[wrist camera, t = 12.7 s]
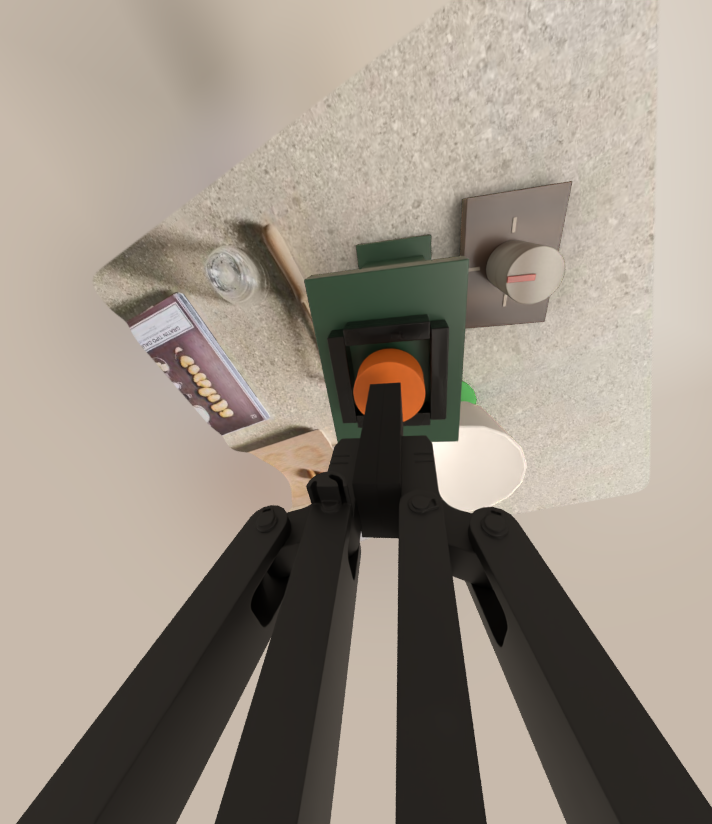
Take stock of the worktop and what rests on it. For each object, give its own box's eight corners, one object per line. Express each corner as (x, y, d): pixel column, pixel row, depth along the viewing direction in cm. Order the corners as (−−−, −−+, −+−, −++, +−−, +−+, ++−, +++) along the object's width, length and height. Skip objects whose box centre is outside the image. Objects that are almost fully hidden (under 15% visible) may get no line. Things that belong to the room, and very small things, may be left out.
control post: (357, 244, 38) (296, 284, 16) (430, 234, 36) (475, 262, 14) (367, 337, 44) (334, 457, 22) (430, 331, 43) (462, 455, 21)
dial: (537, 237, 33) (573, 242, 26) (528, 285, 35) (559, 303, 28) (488, 242, 34) (511, 249, 27) (483, 290, 36) (503, 307, 29)
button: (353, 350, 18) (348, 364, 16) (422, 345, 17) (425, 359, 15) (361, 408, 20) (357, 425, 18) (423, 405, 19) (425, 423, 18)
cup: (411, 442, 54) (415, 516, 41) (395, 374, 47) (393, 436, 34) (494, 430, 50) (527, 507, 37) (489, 355, 43) (528, 416, 30)
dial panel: (462, 199, 34) (467, 197, 32) (559, 183, 32) (573, 180, 30) (456, 322, 42) (460, 329, 39) (535, 315, 40) (545, 322, 37)
